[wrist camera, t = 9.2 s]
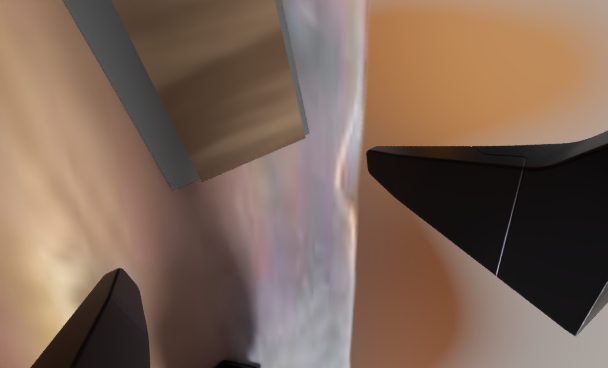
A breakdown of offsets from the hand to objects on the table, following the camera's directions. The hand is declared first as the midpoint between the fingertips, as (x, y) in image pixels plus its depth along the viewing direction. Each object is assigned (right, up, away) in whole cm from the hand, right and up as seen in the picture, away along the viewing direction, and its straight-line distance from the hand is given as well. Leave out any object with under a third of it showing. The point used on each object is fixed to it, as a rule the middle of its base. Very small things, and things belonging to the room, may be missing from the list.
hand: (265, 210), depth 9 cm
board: (-2, +3, +9) cm, 10 cm away
